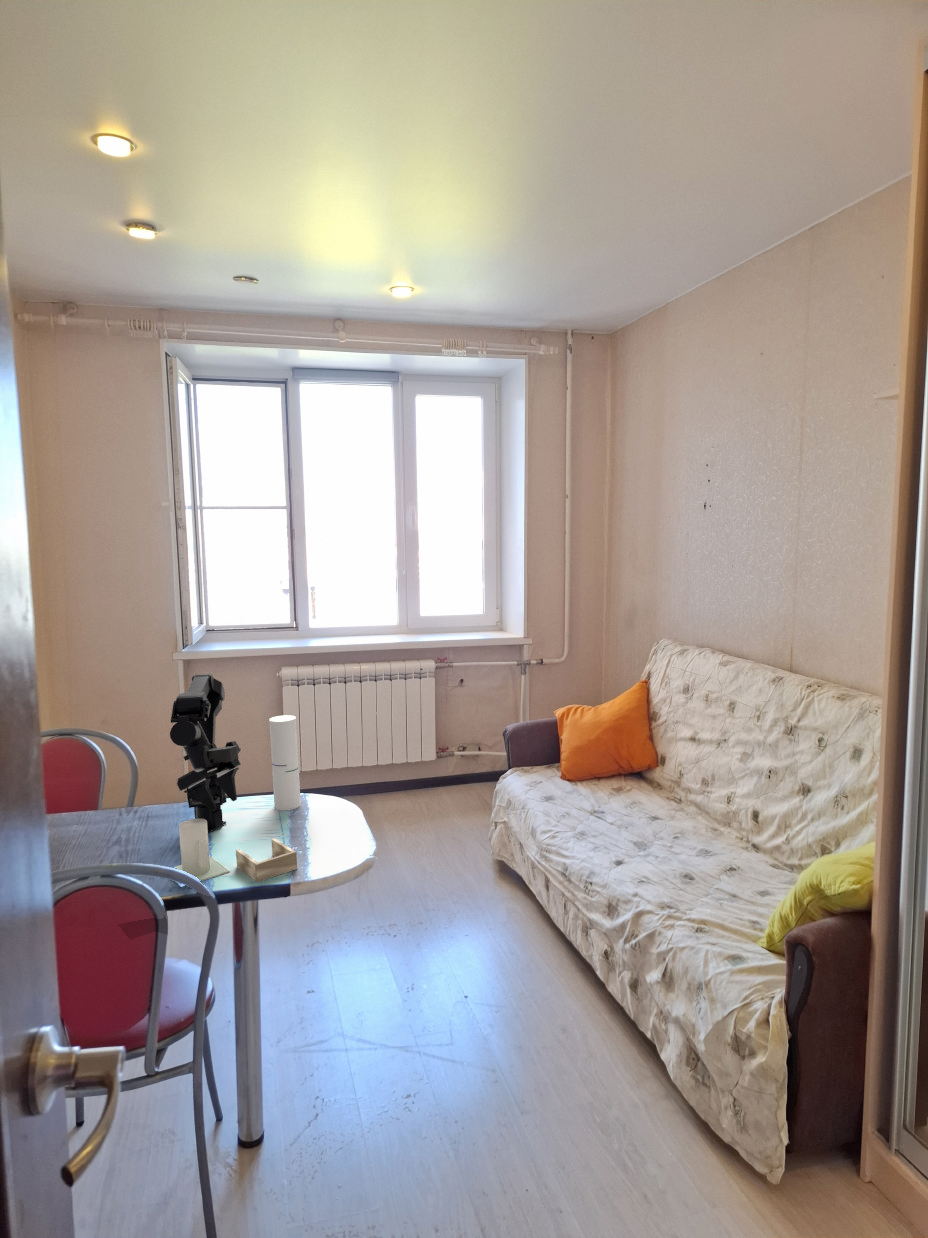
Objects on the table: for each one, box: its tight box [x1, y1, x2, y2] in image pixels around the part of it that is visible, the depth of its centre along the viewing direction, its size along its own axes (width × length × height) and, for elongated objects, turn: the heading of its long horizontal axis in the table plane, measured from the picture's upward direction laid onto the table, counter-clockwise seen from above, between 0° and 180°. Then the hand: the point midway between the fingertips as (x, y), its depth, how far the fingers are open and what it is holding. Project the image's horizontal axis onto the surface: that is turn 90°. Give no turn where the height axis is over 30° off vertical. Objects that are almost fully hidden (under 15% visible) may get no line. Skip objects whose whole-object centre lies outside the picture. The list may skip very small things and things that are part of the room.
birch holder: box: [235, 838, 298, 883], centre depth 174 cm, size 11×10×4 cm
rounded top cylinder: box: [178, 818, 210, 876], centre depth 171 cm, size 8×6×11 cm
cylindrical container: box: [268, 714, 302, 811], centre depth 212 cm, size 7×7×25 cm
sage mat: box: [173, 855, 231, 882], centre depth 173 cm, size 11×11×1 cm
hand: (225, 805), depth 181 cm, fingers open, 9 cm apart
